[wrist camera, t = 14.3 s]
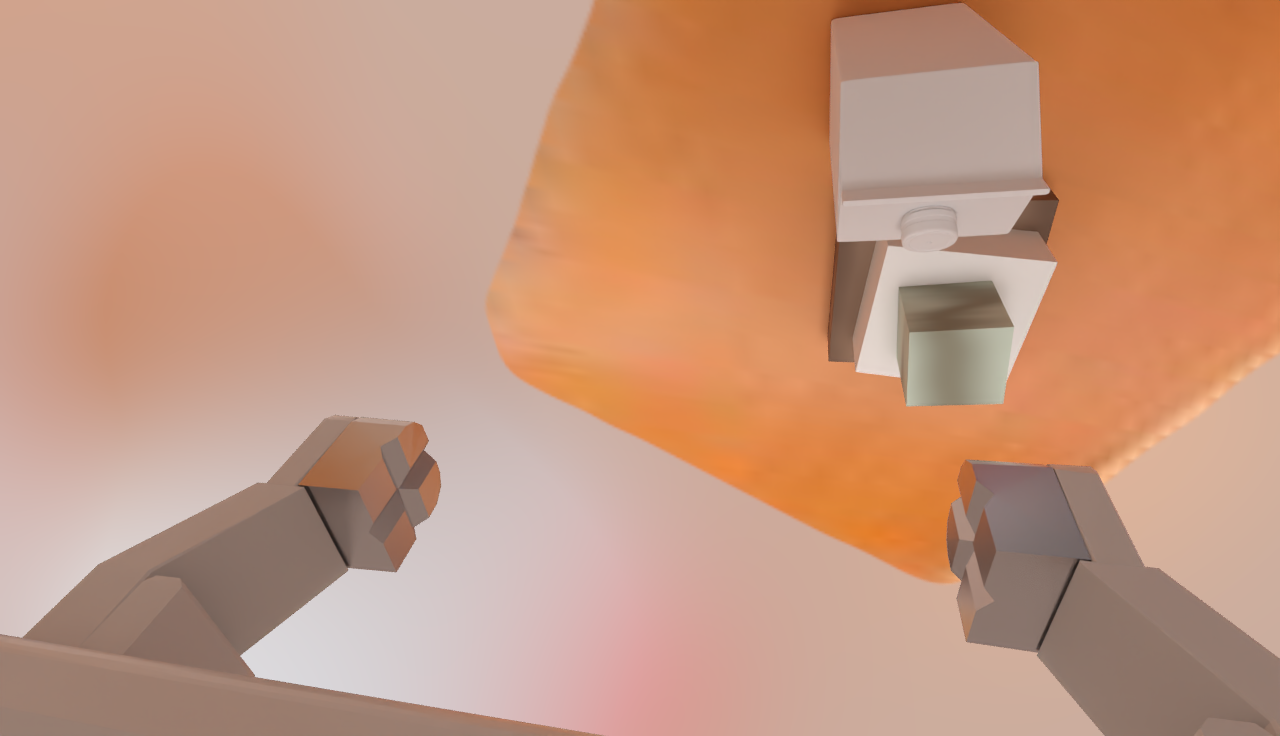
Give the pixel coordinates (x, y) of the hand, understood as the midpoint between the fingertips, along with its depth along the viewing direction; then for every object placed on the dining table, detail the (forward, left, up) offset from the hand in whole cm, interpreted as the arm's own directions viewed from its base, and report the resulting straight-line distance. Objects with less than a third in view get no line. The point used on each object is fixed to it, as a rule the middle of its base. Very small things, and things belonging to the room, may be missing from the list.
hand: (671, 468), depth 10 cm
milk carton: (-7, +3, -37) cm, 38 cm away
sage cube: (-11, +15, -30) cm, 35 cm away
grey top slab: (-11, +15, -34) cm, 39 cm away
